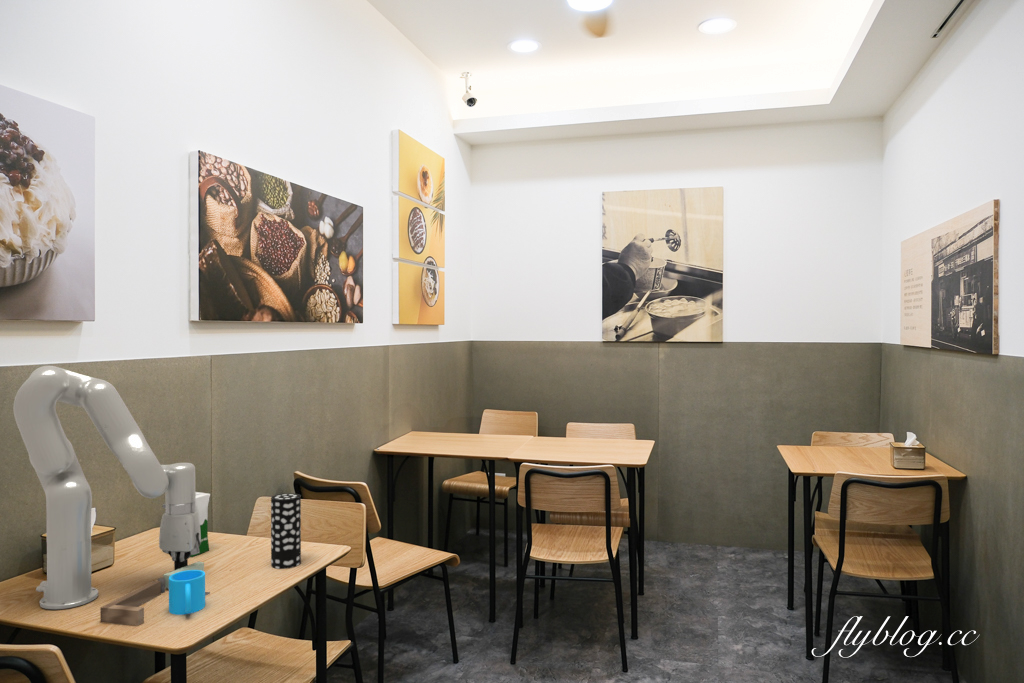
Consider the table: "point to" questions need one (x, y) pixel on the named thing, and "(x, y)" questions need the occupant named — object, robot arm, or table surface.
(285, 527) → the white-spotted black cylinder
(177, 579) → the mug
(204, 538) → the milk carton
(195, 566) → the leg
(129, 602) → the dock
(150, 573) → the table surface
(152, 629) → the table surface
